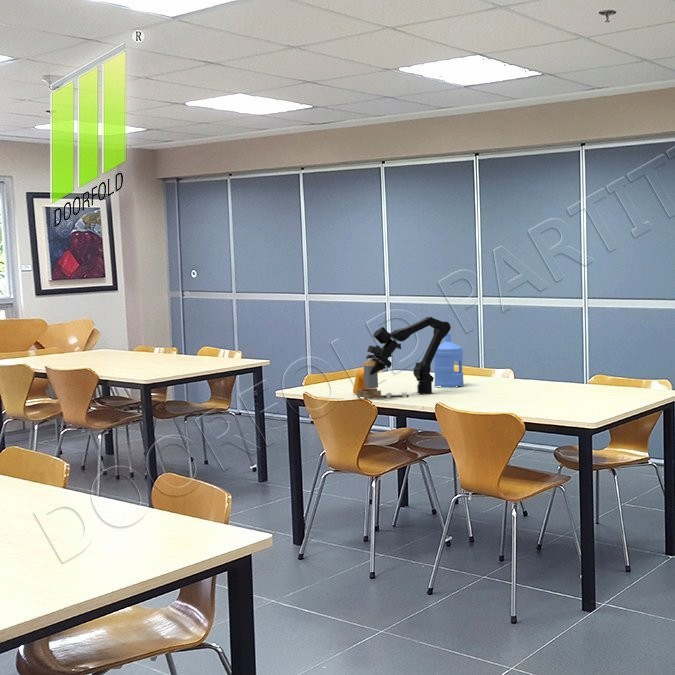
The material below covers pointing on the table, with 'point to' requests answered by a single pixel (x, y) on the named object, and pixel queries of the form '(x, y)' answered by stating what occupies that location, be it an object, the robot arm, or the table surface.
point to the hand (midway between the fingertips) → (368, 373)
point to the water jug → (448, 364)
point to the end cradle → (369, 393)
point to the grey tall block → (369, 379)
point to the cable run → (393, 395)
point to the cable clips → (391, 394)
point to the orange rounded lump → (359, 382)
